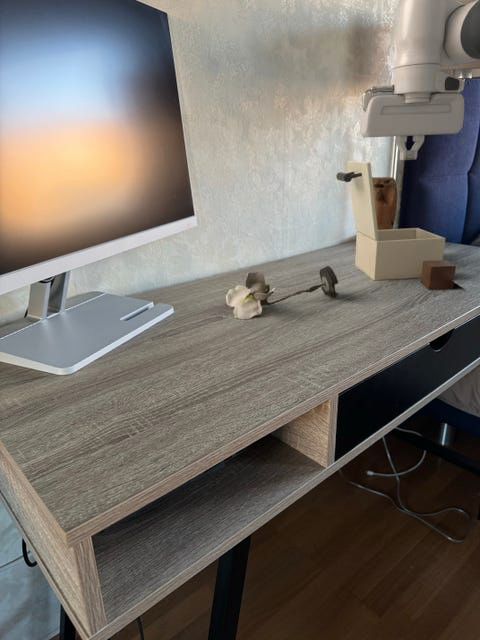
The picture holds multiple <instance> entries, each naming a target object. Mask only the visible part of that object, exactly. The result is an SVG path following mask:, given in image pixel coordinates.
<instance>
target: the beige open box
mask: <svg viewBox="0 0 480 640" xmlns="http://www.w3.org/2000/svg"><path fill="white" fill-rule="evenodd" d="M378 238H379V239H378V240H374V239H372V238H370V237H368V236H367V235H365V234H363V233H361V232H359V231H357V230H356V239H355V240H356V242H355V258H354V259H355V260H354V266H355V267H356V268H357V269H358V270H360V271H361V272H362V273H364V274H365V275H367V276H368V277H369V278H370V279H371V280H373V281H386V280H403V279H405V280H406V279H418V278H419V279H421V276H422V267H423V261H436V260H444V253H445V245H446V237H443V236H440V235H438V234H436V233H432V232H430V231H427V230H424V229H421V228H420V227H412V228H411V227H410V228H393V229H390V230H378Z"/></svg>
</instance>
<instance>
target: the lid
mask: <svg viewBox="0 0 480 640" xmlns="http://www.w3.org/2000/svg"><path fill="white" fill-rule="evenodd" d="M346 164H347V171H348V172H342V171H339V172H337V173H336V177H335V178H336V179H337V180H338V181H340V182H345V183H349V188H350V196H351V205H352V213H353V221H354V228H355V231H356V232H357V231H359V232H361V233H363V234H365V235H367V236H368V237H370V238H372V239H374V240H378V239H379V238H378V228H377V219H376V210H375V200H374V191H373V181H372V177H373V173H372V164H371V161H358V160H347V161H346Z"/></svg>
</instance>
